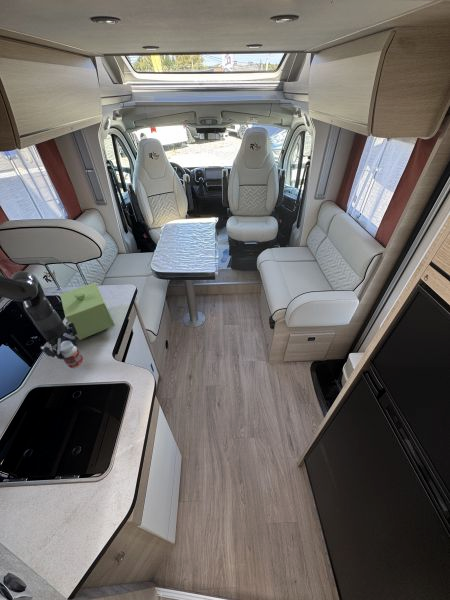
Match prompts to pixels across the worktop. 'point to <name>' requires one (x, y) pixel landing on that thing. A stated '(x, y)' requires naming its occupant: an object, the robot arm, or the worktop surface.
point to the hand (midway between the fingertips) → (68, 351)
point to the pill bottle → (71, 354)
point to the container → (86, 310)
